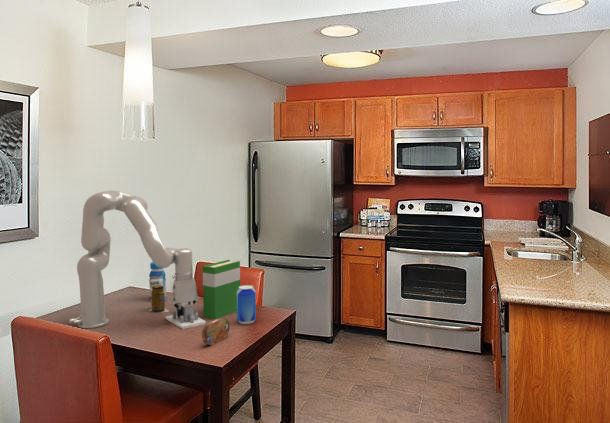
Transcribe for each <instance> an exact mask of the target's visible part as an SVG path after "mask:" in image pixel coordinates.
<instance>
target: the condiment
mask: <svg viewBox="0 0 610 423" xmlns="http://www.w3.org/2000/svg"><path fill="white" fill-rule="evenodd" d="M163 290H164V289H163V286H162V285H155V286H153V287H152V293H151V294H152V301H151V309H148V311H149V312H151V313H153V314H163V313H167V312H170V310H169V309H166V308H165V307H166V300H165V294H164V291H163Z"/></svg>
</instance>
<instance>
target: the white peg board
mask: <svg viewBox="0 0 610 423" xmlns="http://www.w3.org/2000/svg"><path fill="white" fill-rule="evenodd" d="M165 320H166V321H169V322H170V323H171V324H173V325H175V326H176V327H178V328H180V329H182V330H186V329H191V328H194V327H199V326H203V325H206V324H207V321H206V320H204V319H202V318H201V317H199V312H194V316H193V315H192V316H190V321H184V318H183V316H180V318H179V317H178V316H176V310H174V311H173V310H172V314H170V315H167V316H166V315H165Z"/></svg>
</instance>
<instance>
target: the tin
mask: <svg viewBox="0 0 610 423" xmlns="http://www.w3.org/2000/svg"><path fill="white" fill-rule="evenodd" d="M229 331H230V322H229V320H228V319H227V317H221V318H218V319H216V320H215V319H213V320H212V321H210V322H208V323H206V324H204V327H203V328H202V332H201V338H202V339H201V340H202V342H203V343H204V344H206V345H208V346H209V345H210V346H214V345H216V344H218V343H219V342H221V341H222V340H224V339H226V338H227V337H228V335H229Z"/></svg>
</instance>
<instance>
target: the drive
mask: <svg viewBox="0 0 610 423" xmlns="http://www.w3.org/2000/svg"><path fill="white" fill-rule="evenodd" d="M181 309H182V316H183V318H184V321H190V316H192V315H193V316H194V315H195V305H194V306H193V305H192V304H190V303H188V302H184V303H182V305H181ZM175 311H176V316H177V308H176V307H175ZM179 318H180V317H179Z"/></svg>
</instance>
